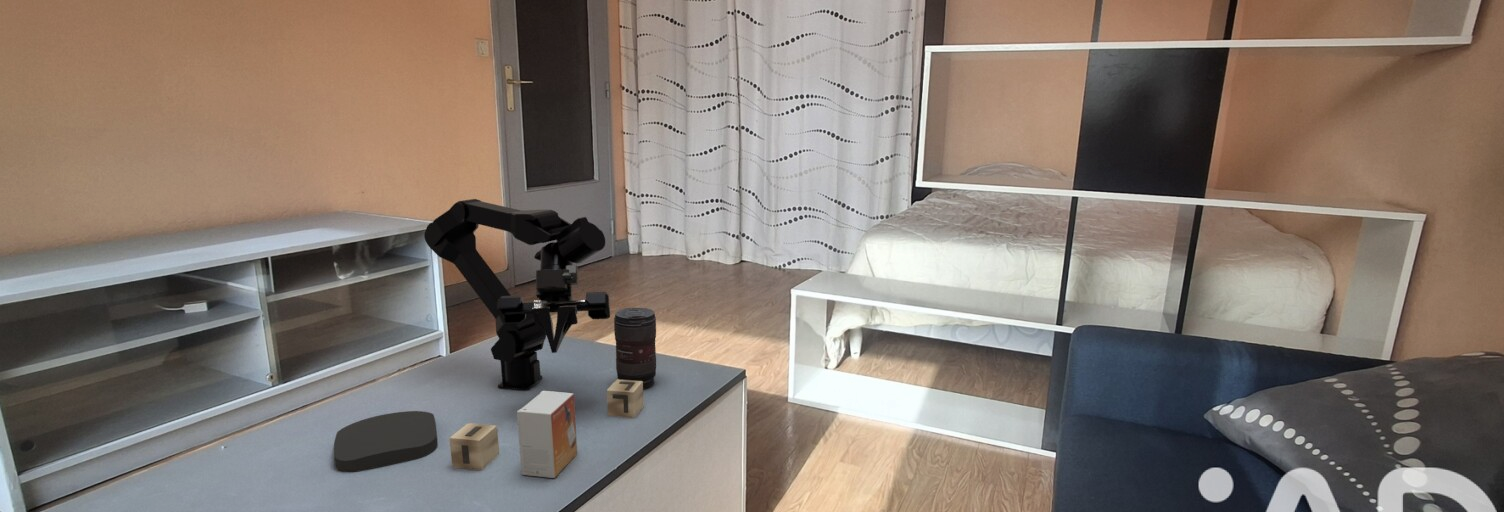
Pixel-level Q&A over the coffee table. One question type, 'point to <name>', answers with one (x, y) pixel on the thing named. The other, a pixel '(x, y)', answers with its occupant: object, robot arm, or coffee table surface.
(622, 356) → the camera lens
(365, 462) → the media streaming box
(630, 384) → the marked block right
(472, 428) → the marked block left
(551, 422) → the small box
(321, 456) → the coffee table surface
